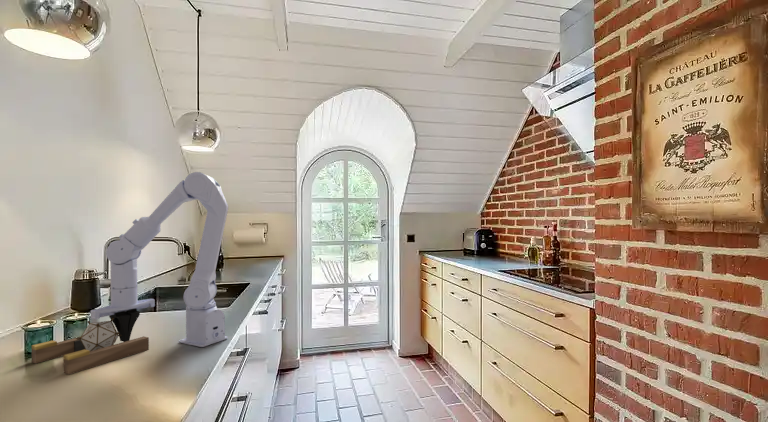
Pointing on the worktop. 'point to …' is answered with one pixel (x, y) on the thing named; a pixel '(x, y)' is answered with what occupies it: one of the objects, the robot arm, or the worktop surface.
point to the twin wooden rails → (85, 353)
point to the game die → (99, 335)
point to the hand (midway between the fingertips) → (124, 340)
